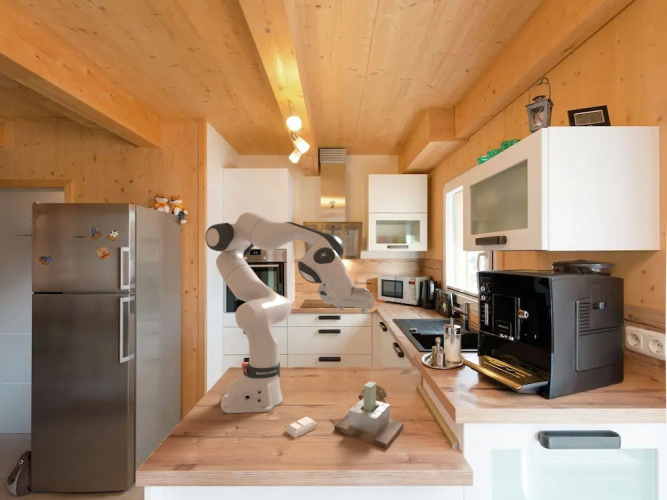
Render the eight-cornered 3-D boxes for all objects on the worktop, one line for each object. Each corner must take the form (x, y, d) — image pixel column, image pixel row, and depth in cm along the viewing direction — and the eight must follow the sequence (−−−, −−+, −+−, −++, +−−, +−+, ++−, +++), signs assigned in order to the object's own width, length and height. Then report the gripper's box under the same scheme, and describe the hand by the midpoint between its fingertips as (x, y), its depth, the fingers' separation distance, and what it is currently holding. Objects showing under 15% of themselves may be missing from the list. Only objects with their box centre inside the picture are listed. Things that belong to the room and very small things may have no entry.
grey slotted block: (389, 421, 111) (389, 404, 111) (375, 436, 102) (375, 418, 102) (364, 412, 116) (364, 397, 116) (348, 427, 107) (348, 410, 107)
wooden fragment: (387, 413, 120) (387, 410, 120) (357, 410, 121) (357, 407, 121) (386, 384, 145) (386, 381, 145) (360, 382, 147) (360, 379, 147)
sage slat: (375, 419, 110) (376, 383, 110) (370, 424, 107) (370, 387, 106) (368, 417, 111) (369, 381, 111) (363, 422, 108) (364, 385, 108)
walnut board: (403, 427, 110) (403, 422, 110) (386, 448, 98) (386, 443, 98) (355, 411, 120) (355, 407, 120) (334, 429, 108) (334, 425, 108)
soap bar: (317, 428, 109) (317, 420, 109) (295, 439, 103) (295, 430, 103) (307, 422, 113) (307, 414, 113) (285, 432, 106) (285, 424, 106)
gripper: (371, 281, 112) (382, 306, 120) (320, 277, 122) (333, 300, 131) (364, 296, 108) (376, 321, 116) (312, 291, 119) (327, 314, 127)
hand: (353, 310), depth 124 cm, fingers open, 8 cm apart
